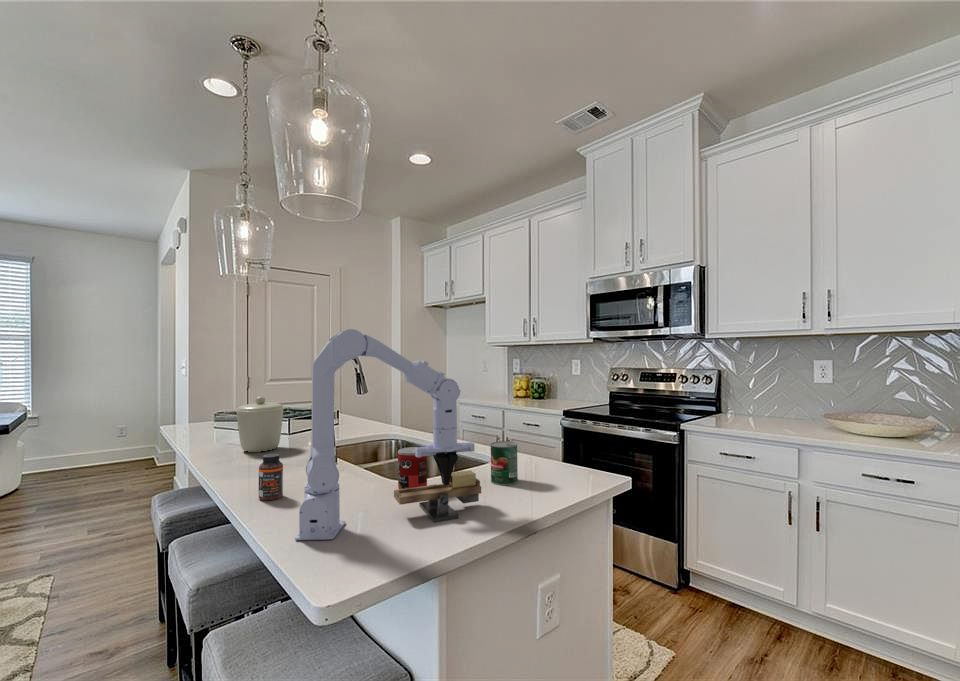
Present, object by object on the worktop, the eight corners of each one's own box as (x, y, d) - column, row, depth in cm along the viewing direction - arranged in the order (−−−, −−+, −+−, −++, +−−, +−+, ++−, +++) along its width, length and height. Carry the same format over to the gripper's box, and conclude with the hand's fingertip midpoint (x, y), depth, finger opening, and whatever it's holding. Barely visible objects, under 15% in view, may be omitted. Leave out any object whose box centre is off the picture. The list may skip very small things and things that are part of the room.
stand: (433, 522, 103) (433, 499, 104) (419, 505, 115) (419, 484, 115) (458, 518, 106) (458, 495, 106) (442, 502, 117) (441, 481, 117)
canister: (277, 443, 195) (277, 393, 195) (291, 450, 181) (291, 396, 181) (230, 449, 183) (229, 396, 183) (240, 457, 169) (240, 400, 169)
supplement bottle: (260, 503, 118) (260, 458, 118) (256, 497, 123) (256, 454, 123) (285, 498, 122) (284, 455, 122) (280, 492, 127) (280, 451, 127)
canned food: (395, 487, 130) (395, 448, 130) (423, 484, 133) (423, 445, 133) (401, 495, 123) (400, 454, 123) (430, 491, 126) (429, 451, 126)
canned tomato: (487, 484, 132) (486, 445, 132) (495, 476, 140) (494, 440, 140) (514, 486, 130) (513, 447, 130) (520, 478, 137) (520, 441, 137)
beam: (399, 513, 104) (399, 492, 104) (393, 505, 109) (393, 484, 109) (481, 501, 111) (481, 481, 111) (472, 494, 117) (471, 475, 117)
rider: (452, 491, 110) (452, 476, 110) (447, 487, 113) (447, 472, 113) (475, 488, 112) (475, 473, 112) (470, 484, 116) (470, 470, 116)
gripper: (420, 432, 105) (421, 492, 105) (479, 427, 110) (479, 484, 110) (412, 427, 111) (413, 484, 111) (468, 423, 117) (468, 477, 117)
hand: (445, 483), depth 111 cm, fingers closed
